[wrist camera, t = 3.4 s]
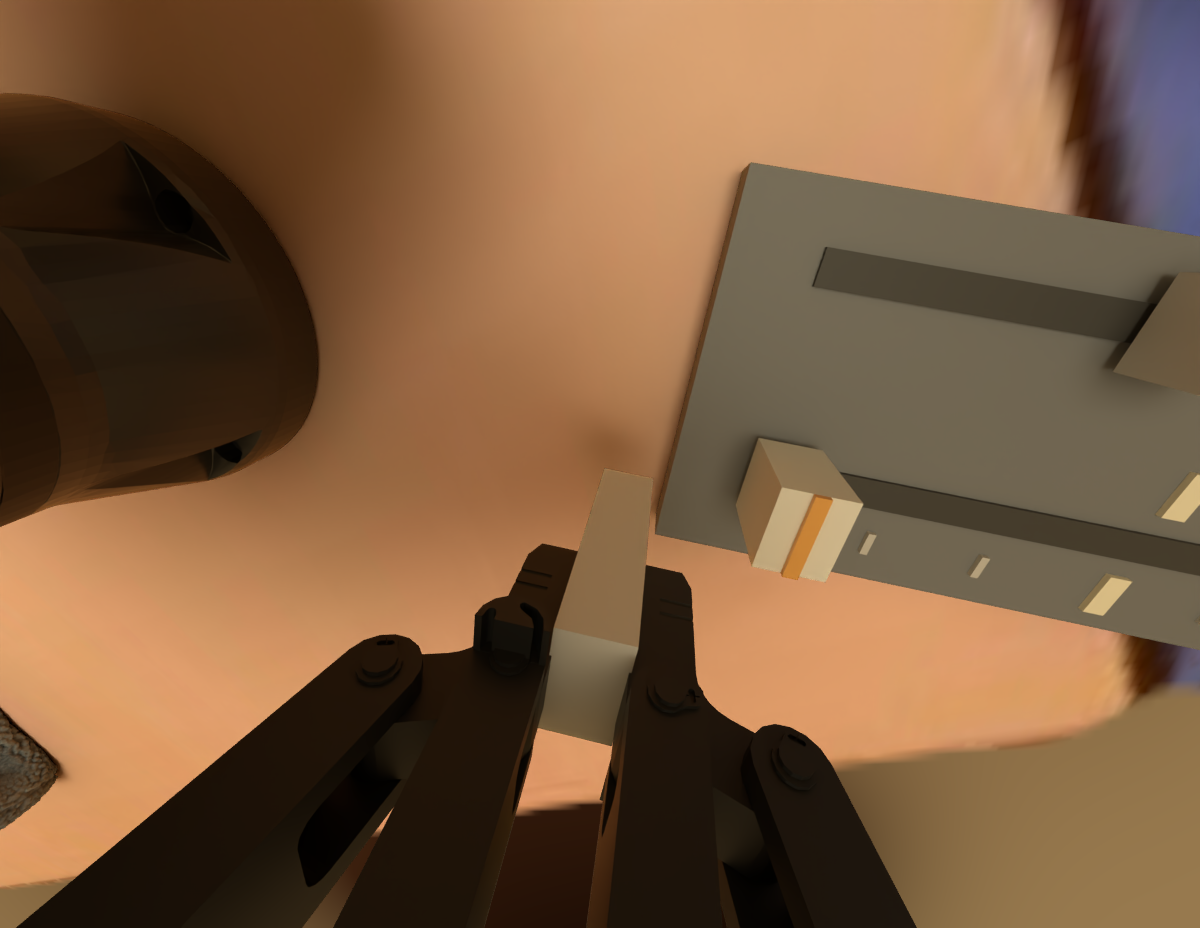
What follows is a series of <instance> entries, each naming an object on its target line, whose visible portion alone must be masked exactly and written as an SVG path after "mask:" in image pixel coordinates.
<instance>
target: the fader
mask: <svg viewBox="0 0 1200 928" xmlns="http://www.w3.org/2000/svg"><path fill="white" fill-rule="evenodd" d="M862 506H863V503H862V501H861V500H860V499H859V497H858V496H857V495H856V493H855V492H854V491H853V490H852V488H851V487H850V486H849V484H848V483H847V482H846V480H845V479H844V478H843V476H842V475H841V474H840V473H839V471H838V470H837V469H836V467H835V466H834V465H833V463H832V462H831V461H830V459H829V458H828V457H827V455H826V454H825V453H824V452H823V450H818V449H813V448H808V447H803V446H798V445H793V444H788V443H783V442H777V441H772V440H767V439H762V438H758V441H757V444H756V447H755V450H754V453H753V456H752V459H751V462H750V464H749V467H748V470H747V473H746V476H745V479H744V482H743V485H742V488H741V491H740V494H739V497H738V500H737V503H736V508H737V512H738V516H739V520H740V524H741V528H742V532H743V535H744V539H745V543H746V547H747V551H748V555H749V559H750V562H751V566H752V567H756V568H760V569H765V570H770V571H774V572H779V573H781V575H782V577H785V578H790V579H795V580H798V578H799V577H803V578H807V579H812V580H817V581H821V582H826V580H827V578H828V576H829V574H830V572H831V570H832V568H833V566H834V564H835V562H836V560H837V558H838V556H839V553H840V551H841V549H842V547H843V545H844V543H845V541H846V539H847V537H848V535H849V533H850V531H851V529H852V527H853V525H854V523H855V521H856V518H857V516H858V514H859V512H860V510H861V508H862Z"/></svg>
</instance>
